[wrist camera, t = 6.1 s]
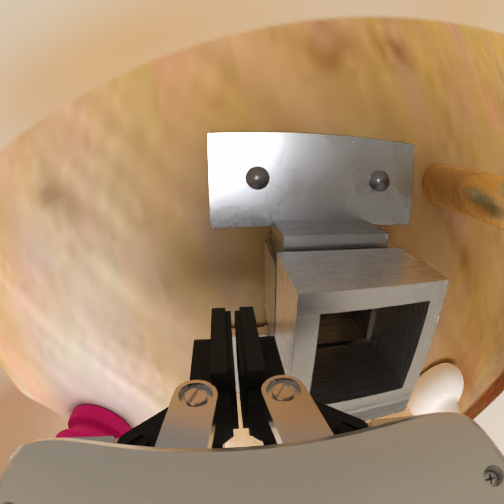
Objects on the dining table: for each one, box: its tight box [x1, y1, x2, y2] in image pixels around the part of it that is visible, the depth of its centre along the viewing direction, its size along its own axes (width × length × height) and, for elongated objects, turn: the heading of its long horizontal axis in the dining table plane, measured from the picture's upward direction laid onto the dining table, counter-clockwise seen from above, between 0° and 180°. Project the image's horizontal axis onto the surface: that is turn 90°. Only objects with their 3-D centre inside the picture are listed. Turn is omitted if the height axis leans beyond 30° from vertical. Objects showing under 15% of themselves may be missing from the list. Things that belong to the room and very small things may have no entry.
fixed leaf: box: [208, 132, 414, 349], centre depth 16 cm, size 12×11×4 cm
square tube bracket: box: [232, 248, 449, 421], centre depth 15 cm, size 12×12×8 cm
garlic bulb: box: [407, 363, 464, 416], centre depth 20 cm, size 6×6×8 cm
